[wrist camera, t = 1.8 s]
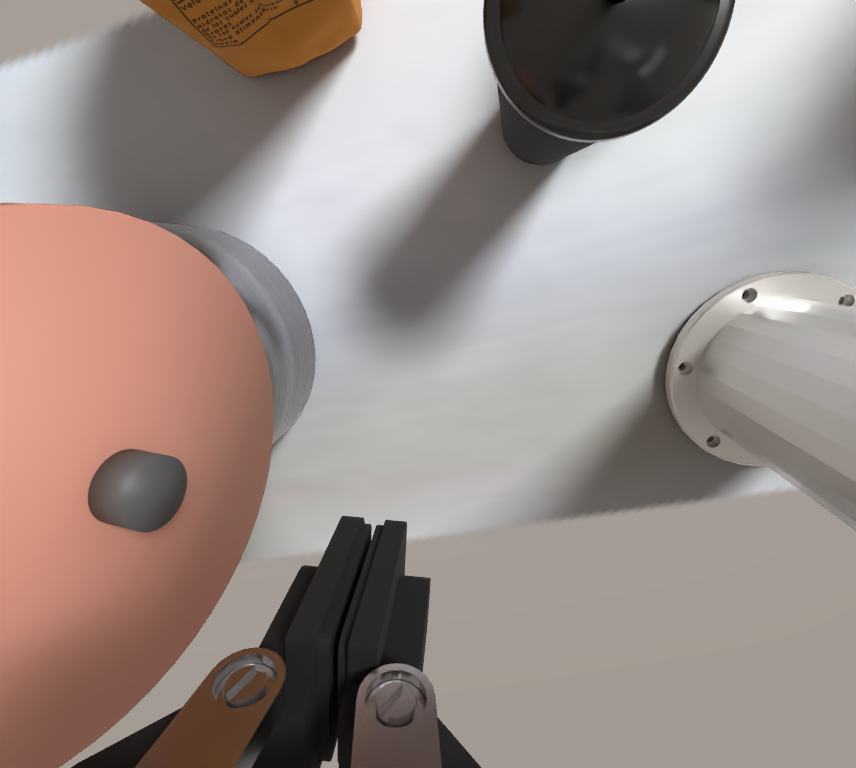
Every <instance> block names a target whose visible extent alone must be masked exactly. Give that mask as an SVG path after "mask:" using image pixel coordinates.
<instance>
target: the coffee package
mask: <svg viewBox="0 0 856 768" xmlns="http://www.w3.org/2000/svg"><path fill="white" fill-rule="evenodd" d="M140 1H141V2H143V3H144V4H146V5H147V6H149V7H150V8H151V9H153V10H154V11H155V12H156V13H158V14H159V15H160V16H162V17H163V18H165V19H166V20H168V21H169V22H171V23H172V24H173V25H175V26H176V27H178V28H179V29H181V30H182V31H183V32H184V33H186V34H187V35H188V36H190V37H191V38H192V39H194V40H195V41H197V42H198V43H200V44H201V45H203V46H204V47H206V48H208V49H209V50H211V51H212V52H213V53H215V54H216V55H217V56H219V57H220V58H221V59H222V60H223V61H225V62H226V63H227V64H228V65H229V66H231V67H232V68H234V69H236V70H237V71H238V72H240V73H241V74H243V75H244V76H249V77H257V76H260V75H263V74H266V73H271V72H278V71H283V70H288V69H293V68H295V67H298V66H300V65H303V64H305V63H307V62H308V61H310V60H311V59H313V58H315V57H318V56H321V55H324V54H326V53H328V52H329V51H331V50H333V49H335V48H337V47H338V46H340V45H341V44H342V43H343V42H344V41H346V40H348V39H349V38H351V37H352V36H354V35H355V34H357V33H358V32H359V31H360V29H361V25H362V8H361V2H360V0H140Z"/></svg>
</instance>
